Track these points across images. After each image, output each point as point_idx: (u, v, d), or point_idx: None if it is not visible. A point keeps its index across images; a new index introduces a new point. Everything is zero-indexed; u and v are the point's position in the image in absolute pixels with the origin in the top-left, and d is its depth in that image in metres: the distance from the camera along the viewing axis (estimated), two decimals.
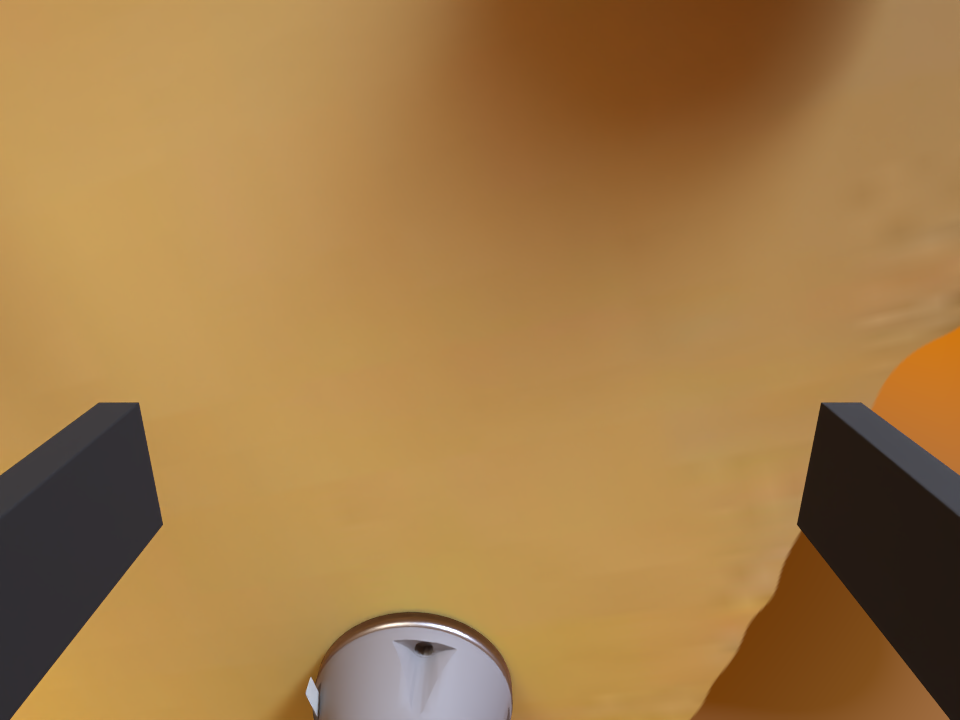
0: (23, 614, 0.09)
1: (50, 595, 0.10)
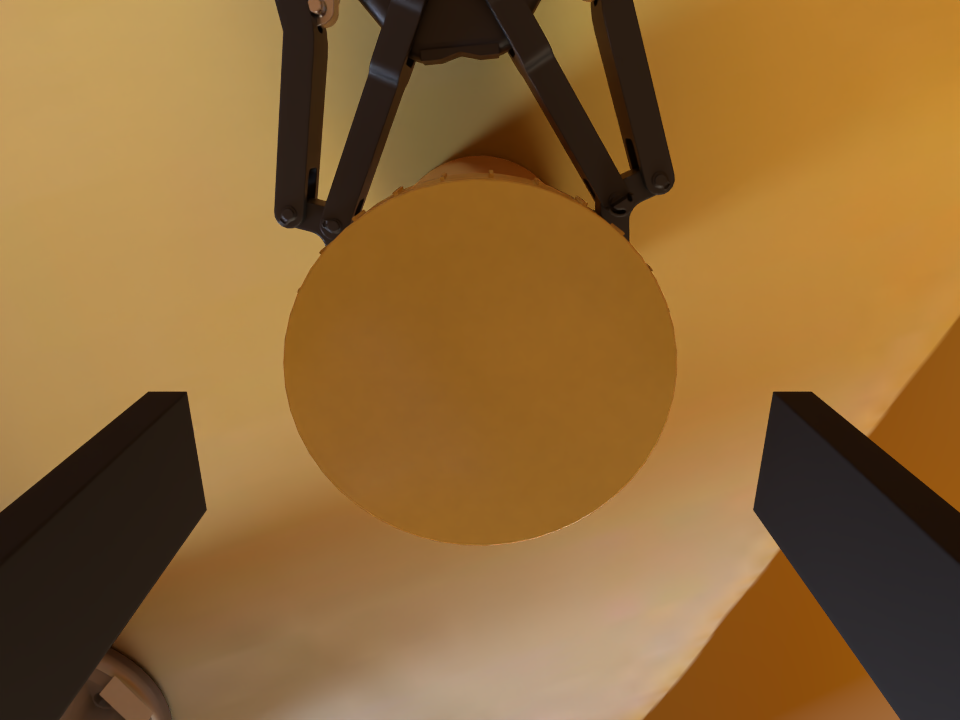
0: (92, 588, 0.10)
1: (114, 572, 0.10)
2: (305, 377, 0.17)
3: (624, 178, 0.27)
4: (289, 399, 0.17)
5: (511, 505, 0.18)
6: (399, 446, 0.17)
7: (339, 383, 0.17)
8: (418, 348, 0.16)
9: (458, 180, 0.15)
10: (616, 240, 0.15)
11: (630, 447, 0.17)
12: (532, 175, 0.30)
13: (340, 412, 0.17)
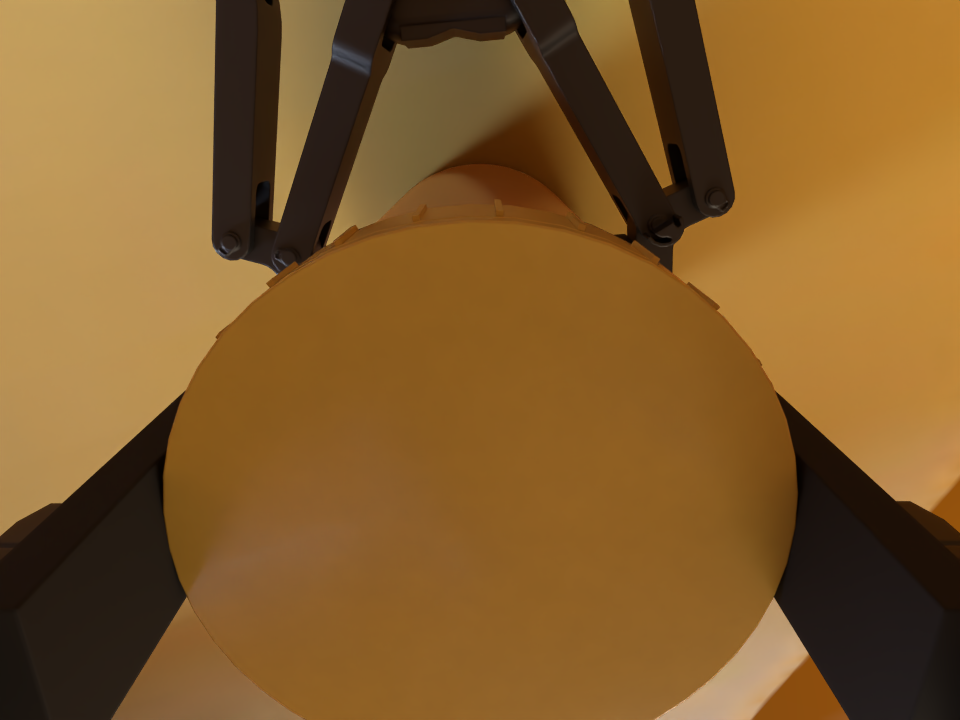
0: (154, 569, 0.10)
1: None
2: (199, 532, 0.10)
3: (668, 195, 0.21)
4: (176, 563, 0.11)
5: (528, 712, 0.12)
6: (353, 631, 0.11)
7: (255, 540, 0.10)
8: (380, 489, 0.10)
9: (442, 222, 0.09)
10: (710, 322, 0.09)
11: (715, 632, 0.11)
12: (546, 190, 0.23)
13: (258, 582, 0.11)
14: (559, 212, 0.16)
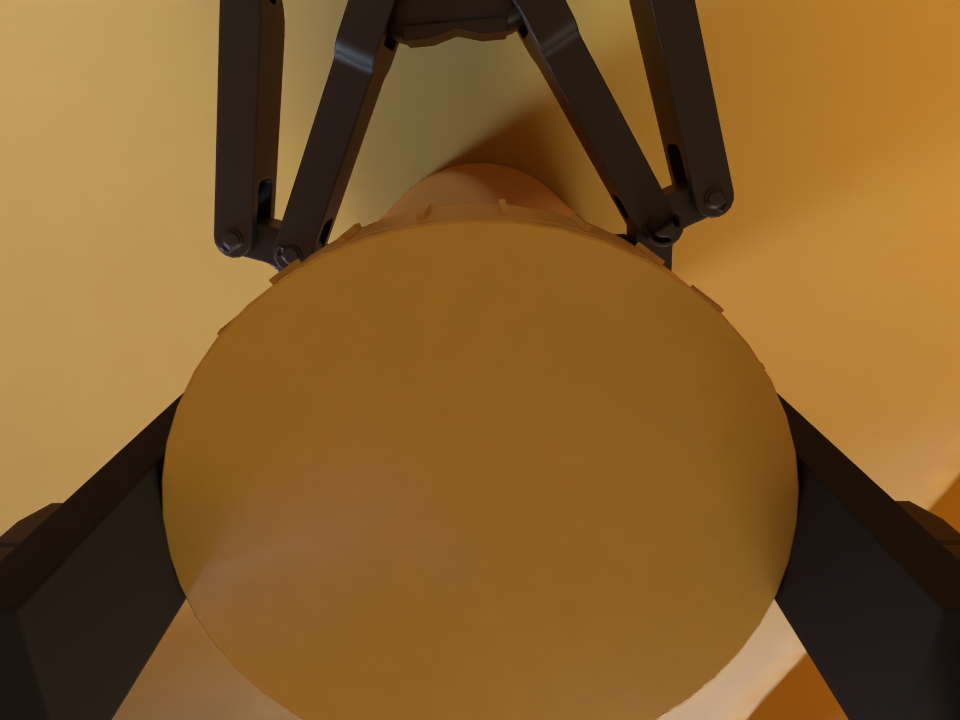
0: (155, 568, 0.10)
1: None
2: None
3: (667, 195, 0.21)
4: None
5: (701, 436, 0.10)
6: (621, 617, 0.11)
7: (538, 703, 0.12)
8: (453, 626, 0.11)
9: (207, 627, 0.11)
10: (184, 419, 0.10)
11: (533, 268, 0.09)
12: (547, 189, 0.23)
13: (583, 695, 0.12)
14: (559, 211, 0.16)
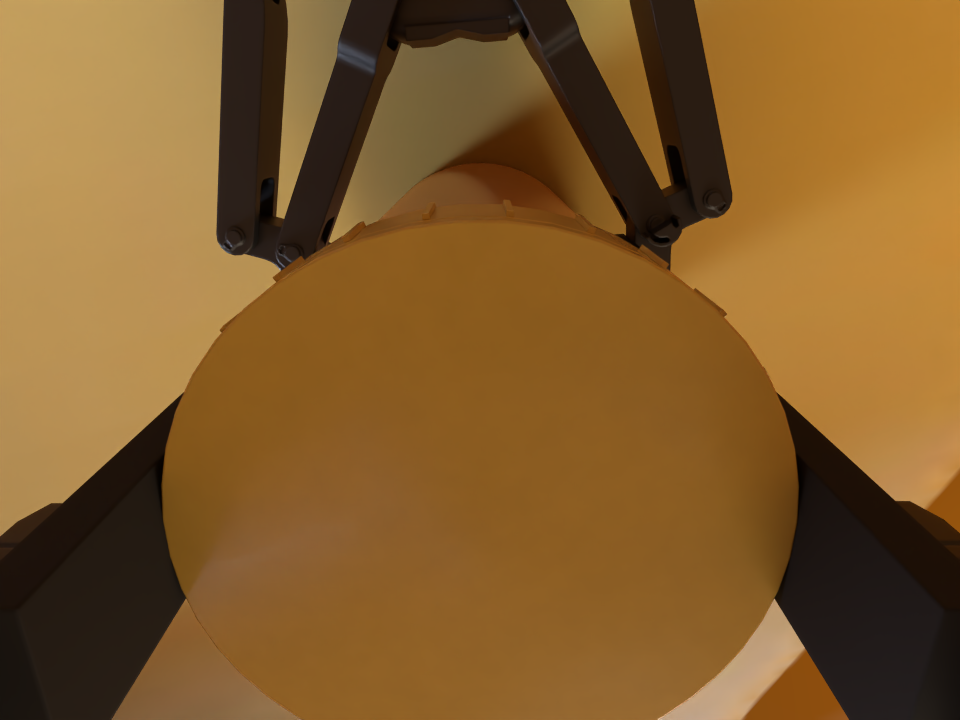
0: (154, 569, 0.10)
1: None
2: (742, 410, 0.10)
3: (666, 196, 0.21)
4: (754, 360, 0.09)
5: (296, 384, 0.09)
6: (538, 381, 0.09)
7: (685, 430, 0.10)
8: (592, 536, 0.10)
9: None
10: None
11: (208, 564, 0.11)
12: (547, 189, 0.24)
13: (662, 385, 0.10)
14: (560, 211, 0.16)
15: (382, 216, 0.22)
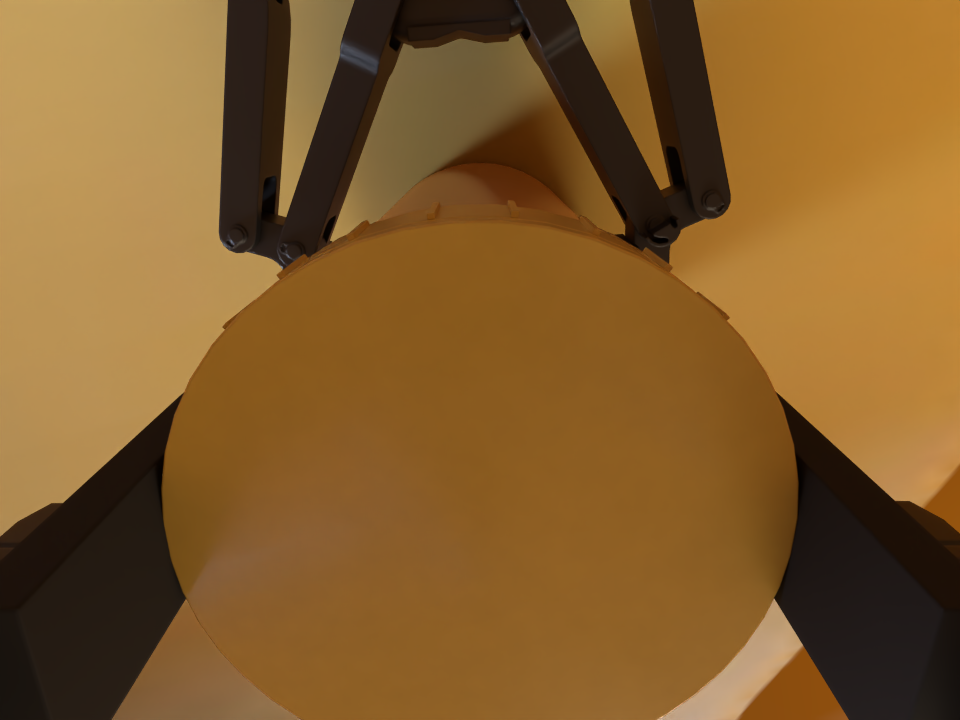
0: (154, 569, 0.10)
1: None
2: (254, 356, 0.09)
3: (665, 197, 0.21)
4: (202, 364, 0.09)
5: (375, 697, 0.12)
6: (301, 535, 0.10)
7: (296, 401, 0.10)
8: (444, 443, 0.10)
9: (694, 292, 0.09)
10: (788, 514, 0.10)
11: None
12: (547, 189, 0.24)
13: (261, 436, 0.10)
14: (559, 210, 0.16)
15: None
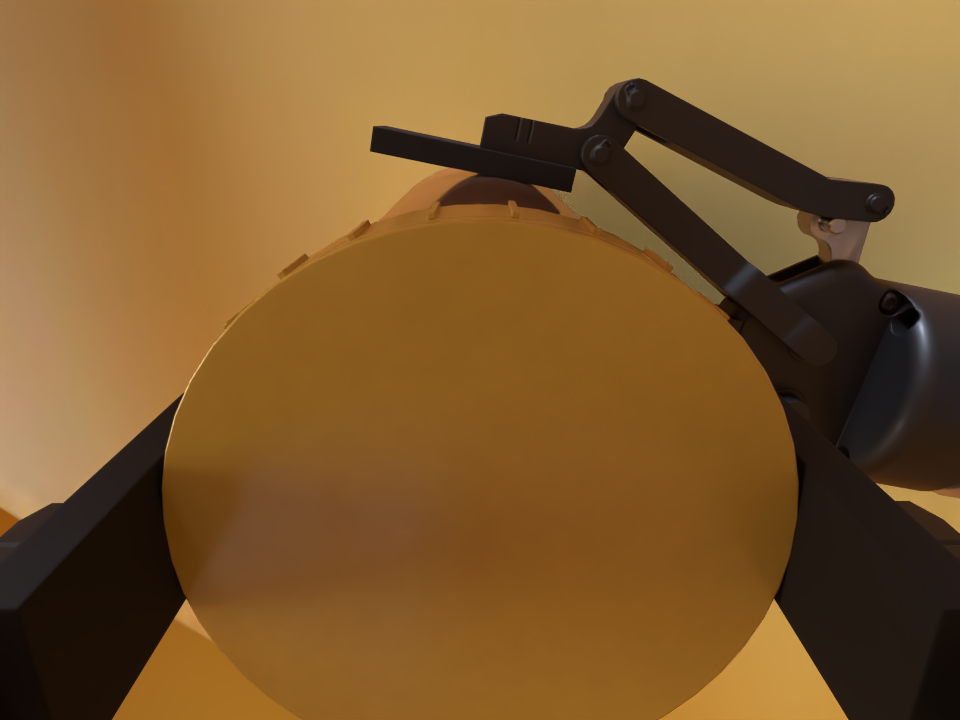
0: (155, 568, 0.10)
1: None
2: (255, 356, 0.09)
3: None
4: (203, 364, 0.09)
5: (375, 696, 0.12)
6: (301, 535, 0.10)
7: (296, 400, 0.10)
8: (444, 443, 0.10)
9: (695, 293, 0.09)
10: (788, 514, 0.10)
11: None
12: None
13: (261, 435, 0.10)
14: None
15: None
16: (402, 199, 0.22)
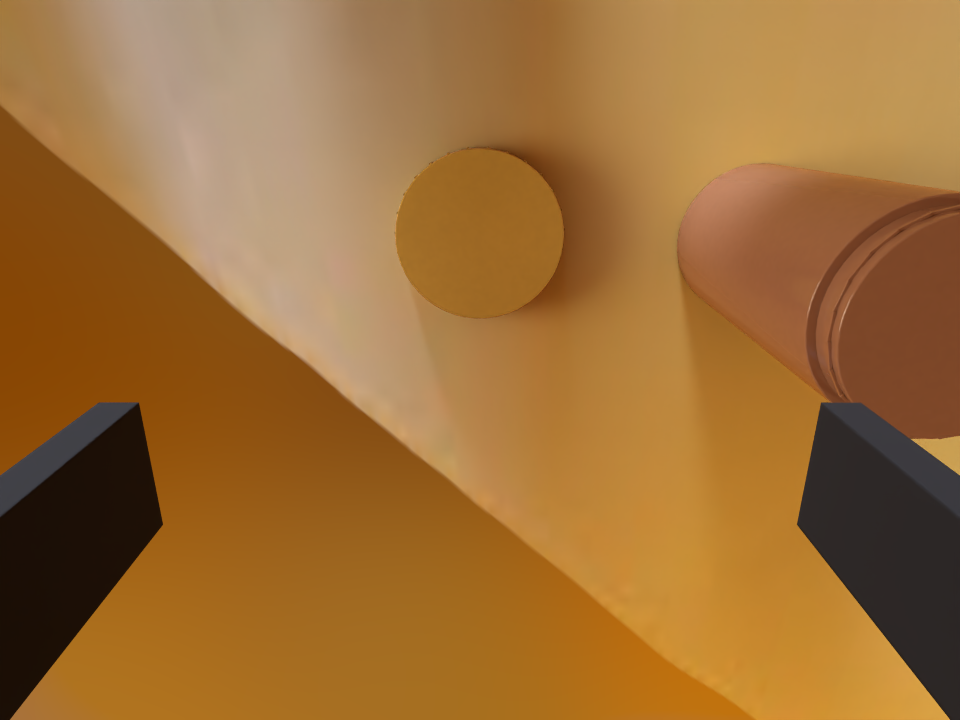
0: (23, 614, 0.09)
1: (50, 595, 0.10)
2: (423, 183, 0.38)
3: None
4: (410, 186, 0.38)
5: (449, 291, 0.40)
6: (431, 236, 0.39)
7: (433, 196, 0.38)
8: (470, 208, 0.38)
9: (531, 167, 0.38)
10: (560, 229, 0.39)
11: (506, 304, 0.40)
12: None
13: (423, 206, 0.38)
14: None
15: None
16: (759, 186, 0.34)
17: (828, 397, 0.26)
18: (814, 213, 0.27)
